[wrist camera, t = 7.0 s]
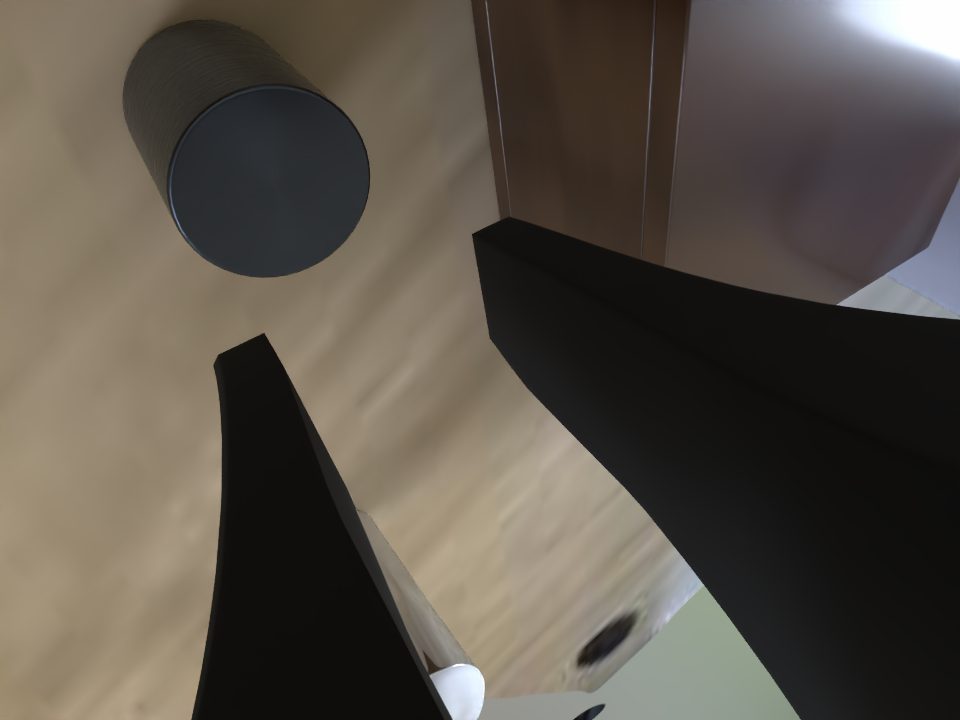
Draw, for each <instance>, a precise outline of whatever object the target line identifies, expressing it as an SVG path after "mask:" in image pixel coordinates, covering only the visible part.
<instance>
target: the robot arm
mask: <svg viewBox="0 0 960 720" xmlns="http://www.w3.org/2000/svg"><path fill="white" fill-rule="evenodd" d="M472 238H473V243H474V249H475V255H476V261H477V267H478V272H479V278H480V284H481V290H482V295H483V301H484V307H485V313H486V318H487V324H488V330H489V336H490V339H491V340H492V342H493V343H494V344H495V346H496V347H497V348H498V350H499V351H500V353H501V354H502V355H503V357H504V358H505V359H506V361H507V362H508V364H509V365H510V366H511V368H512V369H513V370H514V371H515V373H516V374H517V375H518V377H519V378H520V379H521V381H522V382H523V383H524V384H525V386H526V387H527V388H528V389H529V390H530V391H531V392H532V393H533V395H534V396H535V397H536V398H537V399H538V400H539V401H540V402H541V403H542V404H543V405H544V406H545V407H546V408H547V409H548V410H549V411H550V412H551V413H552V414H553V415H554V416H555V417H556V418H557V419H558V420H559V421H560V422H561V424H562V425H563V426H564V427H565V428H566V429H567V430H568V431H569V432H570V433H571V434H572V435H573V436H574V437H575V438H576V439H577V440H578V441H579V442H580V443H581V444H582V445H583V446H584V447H585V448H586V449H587V450H588V451H589V452H590V453H591V454H592V455H593V456H594V457H595V458H596V459H597V460H598V461H599V462H600V463H601V464H602V465H603V466H604V467H605V468H606V469H607V470H608V471H609V472H610V473H611V474H612V475H613V476H614V477H615V478H616V479H617V480H618V481H619V482H620V483H621V484H622V485H623V486H624V487H625V488H626V490H627V491H628V492H629V493H630V494H631V495H632V496H633V497H634V498H635V500H636V501H637V502H638V503H639V504H640V505H641V506H642V507H643V508H644V510H645V511H646V512H647V513H648V514H649V516H650V517H651V518H652V519H653V521H654V522H655V523H656V524H657V526H658V527H659V528H660V529H661V531H662V532H663V533H664V534H665V536H666V537H667V538H668V539H669V541H670V542H671V543H672V544H673V546H674V547H675V548H676V549H677V551H678V552H679V553H680V554H681V556H682V557H683V558H684V559H685V561H686V562H687V563H688V565H689V566H690V567H691V568H692V570H693V571H694V572H695V574H696V575H697V576H698V578H699V579H700V580H701V582H702V583H703V584H704V585H705V587H706V588H707V589H708V591H709V592H710V593H711V595H712V596H713V597H714V598H715V600H716V601H717V603H718V604H719V605H720V606H721V608H722V609H723V610H724V611H725V613H726V614H727V616H728V617H729V618H730V620H731V621H732V623H733V624H734V625H735V627H736V628H737V629H738V631H739V632H740V634H741V635H742V636H743V638H744V639H745V641H746V642H747V643H748V645H749V646H750V647H751V649H752V650H753V652H754V653H755V654H756V656H757V657H758V658H759V660H760V661H761V663H762V664H763V665H764V667H765V668H766V669H767V671H768V672H769V674H770V675H771V676H772V678H773V679H774V681H775V682H776V684H777V685H778V687H779V688H780V690H781V691H782V693H783V694H784V695H785V697H786V698H787V700H788V701H789V703H790V704H791V706H792V707H793V709H794V710H795V712H796V713H797V714H798V716H799V717H800V719H801V720H960V320H958V319H947V318H935V317H925V316H916V315H907V314H899V313H891V312H883V311H875V310H867V309H859V308H852V307H845V306H839V305H832V304H826V303H819V302H814V301H809V300H804V299H798V298H793V297H788V296H783V295H777V294H772V293H767V292H762V291H757V290H753V289H748V288H744V287H739V286H735V285H731V284H727V283H723V282H719V281H715V280H712V279H708V278H704V277H700V276H696V275H692V274H688V273H685V272H681V271H678V270H674V269H671V268H667V267H664V266H660V265H657V264H654V263H650V262H647V261H644V260H641V259H637V258H634V257H631V256H628V255H625V254H622V253H619V252H616V251H612V250H609V249H606V248H603V247H600V246H597V245H594V244H591V243H588V242H586V241H583V240H580V239H577V238H574V237H571V236H568V235H565V234H562V233H559V232H556V231H553V230H550V229H547V228H544V227H541V226H538V225H535V224H532V223H529V222H526V221H523V220H519V219H516V218H512V217H507V218H504V219H502V220H500V221H498V222H496V223H494V224H492V225H490V226H488V227H486V228H483V229H481V230H479V231H477V232H475V233H473V234H472ZM885 276H887V277H889V278H890V279H892V280H894V281H896V282H898V283H900V284H901V285H903V286H905V287H907V288H909V289H910V290H912V291H914V292H916V293H918V294H920V295H921V296H923V297H925V298H927V299H929V300H931V301H932V302H934V303H936V304H938V305H940V306H941V307H943V308H945V309H947V310H949V311H951V312H952V313H954V314H956V315H958V316H960V178H959V181H958V183H957V185H956V187H955V190H954V192H953V194H952V196H951V198H950V201H949V203H948V205H947V207H946V210H945V212H944V214H943V216H942V218H941V221H940V223H939V225H938V227H937V230H936V232H935V234H934V236H933V239H932V241H931V243H930V245H929V247H928V248H927V249H925V250H923V251H922V252H920V253H919V254H917V255H915V256H914V257H912V258H911V259H909V260H907V261H906V262H904V263H903V264H901V265H899V266H898V267H896V268H894V269H893V270H891V271H890V272H888V273H886V274H885ZM213 366H214V370H215V374H216V379H217V385H218V392H219V401H220V413H221V432H222V495H221V513H220V526H219V539H218V552H217V565H216V575H215V583H214V591H213V600H212V607H211V614H210V621H209V628H208V634H207V640H206V646H205V652H204V658H203V664H202V670H201V675H200V681H199V685H198V690H197V695H196V700H195V705H194V710H193V714H192V719H191V720H453V719H452V717H451V715H450V713H449V711H448V710H447V708H446V706H445V704H444V702H443V700H442V698H441V696H440V695H439V693H438V691H437V689H436V687H435V685H434V683H433V681H432V680H431V678H430V676H429V674H428V672H427V670H426V668H425V666H424V665H423V663H422V661H421V659H420V657H419V655H418V652H417V650H416V648H415V646H414V644H413V642H412V640H411V638H410V635H409V633H408V631H407V629H406V627H405V624H404V622H403V620H402V617H401V615H400V613H399V610H398V608H397V605H396V603H395V601H394V598H393V596H392V594H391V591H390V589H389V586H388V584H387V582H386V579H385V577H384V575H383V572H382V570H381V568H380V565H379V563H378V560H377V558H376V556H375V553H374V551H373V549H372V546H371V544H370V541H369V539H368V537H367V534H366V532H365V530H364V527H363V525H362V523H361V520H360V518H359V515H358V513H357V511H356V508H355V506H354V504H353V501H352V499H351V497H350V494H349V492H348V490H347V488H346V486H345V484H344V482H343V480H342V478H341V476H340V474H339V472H338V470H337V468H336V466H335V465H334V463H333V461H332V459H331V457H330V455H329V453H328V451H327V449H326V447H325V445H324V443H323V441H322V440H321V438H320V436H319V434H318V432H317V430H316V428H315V426H314V424H313V422H312V420H311V418H310V416H309V415H308V413H307V411H306V409H305V407H304V405H303V403H302V401H301V399H300V397H299V395H298V393H297V391H296V389H295V388H294V386H293V384H292V382H291V380H290V378H289V376H288V374H287V372H286V370H285V368H284V366H283V365H282V363H281V361H280V359H279V358H278V356H277V354H276V352H275V351H274V349H273V347H272V345H271V344H270V342H269V340H268V339H267V337H266V335H265V333H263V334H261V335H259V336H257V337H255V338H252V339H250V340H248V341H246V342H244V343H242V344H240V345H238V346H236V347H234V348H231V349H229V350H227V351H225V352H223V353H221V354H219V355H218V357H217V359H216V361H215V363H214V365H213Z"/></svg>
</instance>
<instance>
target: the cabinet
mask: <svg viewBox="0 0 960 720" xmlns="http://www.w3.org/2000/svg"><path fill="white" fill-rule="evenodd" d="M471 2H472V10H473V18H474V25H475V33H476V40H477V48H478V55H479V63H480V70H481V78H482V85H483V93H484V101H485V108H486V116H487V123H488V131H489V138H490V146H491V153H492V161H493V168H494V176H495V184H496V191H497V199H498V206H499V214H500V220H502V219H504V218H507V217H512V218H516V219H519V220H523V221H526V222H529V223H532V224H535V225H538V226H541V227H544V228H547V229H550V230H553V231H556V232H559V233H562V234H565V235H568V236H571V237H574V238H577V239H580V240H583V241H586V242H588V243H591V244H594V245H597V246H600V247H603V248H606V249H609V250H612V251H616V252H619V253H622V254H625V255H628V256H631V257H634V258H637V259H641V260H644V261H647V262H650V263H654V264H657V265H660V266H664V267H667V268H671V269H674V270H678V271H681V272H685V273H688V274H692V275H696V276H700V277H704V278H708V279H712V280H715V281H719V282H723V283H727V284H731V285H735V286H739V287H744V288H748V289H753V290H757V291H762V292H767V293H772V294H777V295H783V296H788V297H793V298H798V299H804V300H809V301H814V302H819V303H826V304H832V305H836V304H838V303H840V302H841V301H843V300H844V299H846V298H848V297H849V296H851V295H853V294H854V293H856V292H857V291H859V290H861V289H862V288H864V287H865V286H867V285H869V284H870V283H872V282H874V281H875V280H877V279H878V278H880V277H882V276H883V275H885V274H886V273H888V272H890V271H891V270H893V269H894V268H896V267H898V266H899V265H901V264H903V263H904V262H906V261H907V260H909V259H911V258H912V257H914V256H915V255H917V254H919V253H920V252H922V251H923V250H925V249H927V248H928V247H929V245H930V243H931V241H932V239H933V236H934V234H935V232H936V230H937V227H938V225H939V223H940V221H941V218H942V216H943V214H944V212H945V210H946V207H947V205H948V203H949V201H950V198H951V196H952V194H953V192H954V190H955V187H956V185H957V183H958V181H959V178H960V0H471Z"/></svg>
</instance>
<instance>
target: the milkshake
mask: <svg viewBox="0 0 960 720" xmlns="http://www.w3.org/2000/svg"><path fill="white" fill-rule="evenodd" d="M356 511H357V513H358V515H359V518H360V520H361V523H362V525H363V527H364V530H365V532H366V534H367V537H368V539H369V541H370V544H371V546H372V549H373V551H374V553H375V556H376V558H377V560H378V563H379V565H380V568H381V570H382V572H383V575H384V577H385V579H386V582H387V584H388V586H389V589H390V591H391V594H392V596H393V598H394V601H395V603H396V605H397V608H398V610H399V613H400V615H401V617H402V620H403V622H404V624H405V627H406V629H407V631H408V633H409V635H410V638H411V640H412V642H413V644H414V646H415V648H416V650H417V652H418V655H419V657H420V659H421V661H422V663H423V665H424V666H425V668H426V670H427V672H428V674H429V676H430V678H431V680H432V681H433V683H434V685H435V687H436V689H437V691H438V693H439V695H440V696H441V698H442V700H443V702H444V704H445V706H446V708H447V710H448V711H449V713H450V715H451V717H452V719H453V720H476V719H477V718H478V716H479V714H480V712H481V709H482V706H483V701H484V691H485V685H484V679H483V676H482V674H481V673H480V671H479V670H478V669H477V667H476V666H475V664H474V663H473V662H472V660H471V659H470V657H469V656H468V655H467V653H466V652H465V651H464V649H463V648H462V647H461V645H460V644H459V642H458V641H457V640H456V638H455V637H454V636H453V634H452V633H451V631H450V630H449V629H448V627H447V626H446V625H445V623H444V622H443V621H442V619H441V618H440V616H439V615H438V614H437V612H436V611H435V610H434V608H433V607H432V605H431V604H430V603H429V601H428V600H427V598H426V597H425V595H424V594H423V592H422V591H421V590H420V588H419V587H418V585H417V584H416V582H415V581H414V579H413V578H412V576H411V575H410V573H409V572H408V570H407V569H406V568H405V566H404V565H403V563H402V562H401V560H400V559H399V557H398V556H397V554H396V553H395V551H394V550H393V549H392V547H391V546H390V544H389V543H388V541H387V540H386V538H385V537H384V535H383V534H382V532H381V531H380V530H379V528H378V527H377V525H376V524H375V522H374V521H373V519H372V518H371V516H370V515H369V514H368V513H367V512H364V511H360V510H356Z"/></svg>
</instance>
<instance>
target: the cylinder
mask: <svg viewBox="0 0 960 720" xmlns="http://www.w3.org/2000/svg"><path fill="white" fill-rule="evenodd" d="M123 109H124V115H125V120H126V123H127V126H128V129H129V132H130V134H131V136H132V138H133V140H134V142H135V144H136V146H137V148H138V150H139V152H140V154H141V156H142V158H143V160H144V162H145V164H146V166H147V168H148V170H149V172H150V174H151V176H152V178H153V180H154V182H155V184H156V186H157V188H158V190H159V192H160V194H161V196H162V198H163V200H164V202H165V204H166V206H167V208H168V210H169V212H170V214H171V216H172V218H173V220H174V222H175V224H176V226H177V228H178V230H179V232H180V233H181V235H182V236H183V238H184V239H185V241H186V242H187V243H188V244H189V245H190V246H191V247H192V248H193V249H194V250H195V251H196V252H197V253H198V254H199V255H201V256H202V257H203V258H204V259H206V260H207V261H209V262H211V263H212V264H214V265H216V266H218V267H220V268H222V269H224V270H227V271H230V272H233V273H236V274H239V275H245V276H250V277H262V278H264V277H279V276H285V275H289V274H293V273H297V272H300V271H302V270H305V269H307V268H310V267H312V266H314V265H316V264H317V263H319V262H321V261H322V260H324V259H325V258H327V257H328V256H330V255H331V254H332V253H333V252H335V251H336V250H337V249H338V248H339V247H340V246H341V245H342V244H343V243H344V242H345V241H346V240H347V238H348V237H349V236H350V234H351V233H352V232H353V231H354V229H355V227H356V225H357V224H358V222H359V220H360V218H361V216H362V214H363V211H364V209H365V206H366V202H367V199H368V194H369V188H370V167H369V159H368V155H367V150H366V148H365V145H364V142H363V139H362V137H361V136H360V134H359V132H358V130H357V128H356V127H355V125H354V124H353V122H352V121H351V120H350V118H349V117H348V116H347V115H346V114H345V113H344V112H343V111H342V110H341V109H340V108H339V107H338V106H337V105H336V104H334V103H333V102H332V101H331V100H330V99H329V98H328V97H327V96H325V95H324V94H323V93H322V92H321V91H320V90H319V89H317V88H316V87H315V86H314V85H313V84H312V83H311V82H309V81H308V80H307V79H306V78H305V77H304V76H303V75H302V74H300V73H299V72H298V71H297V70H296V69H295V68H294V67H292V66H291V65H290V64H289V63H288V62H287V61H286V60H284V59H283V58H282V57H281V56H280V55H279V54H278V53H277V52H275V51H274V50H273V49H272V48H271V47H270V46H269V45H267V44H266V43H265V42H264V41H262V40H261V39H260V38H259V37H257V36H256V35H254V34H252V33H251V32H249V31H247V30H245V29H243V28H241V27H239V26H236V25H233V24H230V23H226V22H221V21H215V20H194V21H187V22H183V23H179V24H176V25H174V26H171V27H169V28H166V29H165V30H163V31H161V32H160V33H158V34H156V35H155V36H154V37H153V38H151V39H150V40H149V41H148V42H146V44H145V45H144V46H143V47H142V48H141V49H140V50H139V52H138V53H137V55H136V56H135V58H134V59H133V61H132V63H131V65H130V67H129V70H128V72H127V75H126V79H125V83H124V90H123Z"/></svg>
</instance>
